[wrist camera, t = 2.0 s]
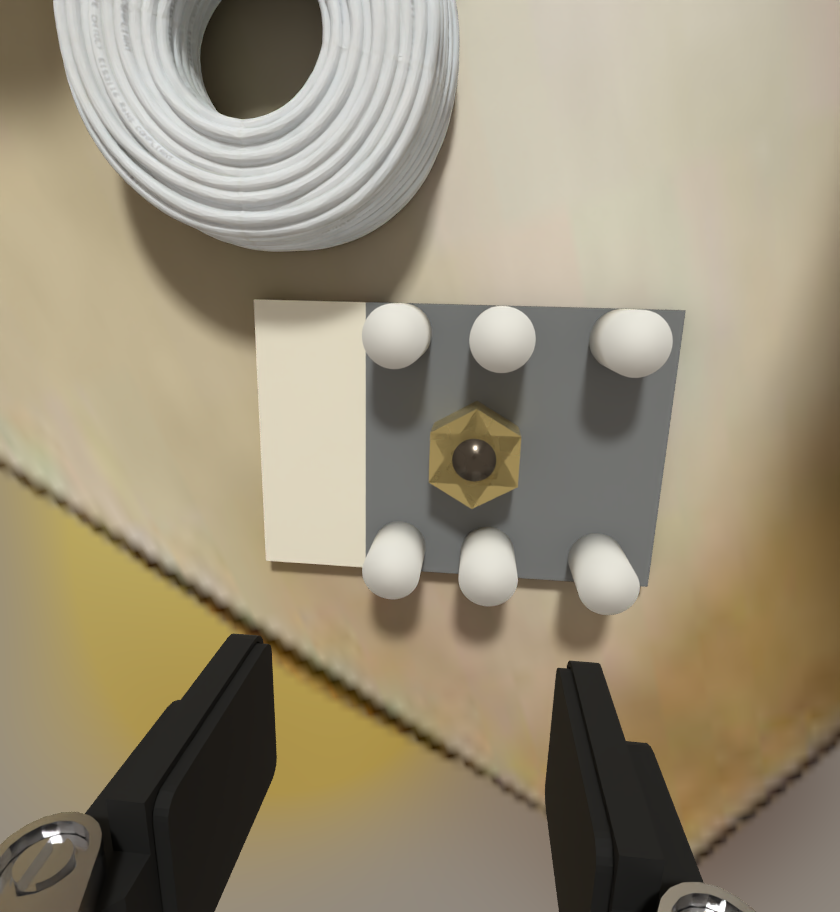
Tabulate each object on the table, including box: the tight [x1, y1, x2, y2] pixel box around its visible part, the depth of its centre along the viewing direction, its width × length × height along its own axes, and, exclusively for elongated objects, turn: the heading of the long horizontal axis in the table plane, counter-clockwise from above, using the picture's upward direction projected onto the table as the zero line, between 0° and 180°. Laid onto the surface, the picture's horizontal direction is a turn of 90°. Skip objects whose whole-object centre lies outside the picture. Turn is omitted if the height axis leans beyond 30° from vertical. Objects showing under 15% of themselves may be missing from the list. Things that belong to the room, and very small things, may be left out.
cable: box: [53, 0, 459, 252], centre depth 26 cm, size 18×18×6 cm
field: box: [254, 299, 686, 615], centre depth 30 cm, size 22×15×4 cm
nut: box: [429, 401, 521, 509], centre depth 30 cm, size 4×5×3 cm
